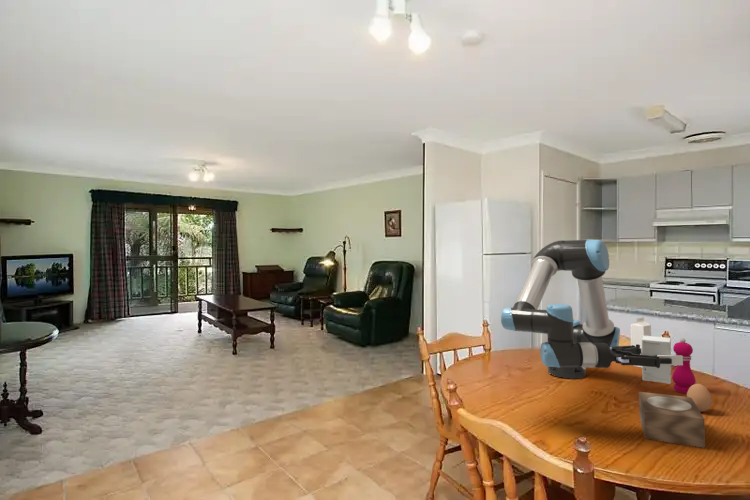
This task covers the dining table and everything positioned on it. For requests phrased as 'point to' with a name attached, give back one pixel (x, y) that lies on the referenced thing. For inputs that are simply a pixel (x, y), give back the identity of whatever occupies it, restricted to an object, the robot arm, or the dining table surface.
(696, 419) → the walnut riser
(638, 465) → the dining table surface
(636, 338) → the milk
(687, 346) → the pepper mill
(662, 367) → the supplement box
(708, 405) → the egg
